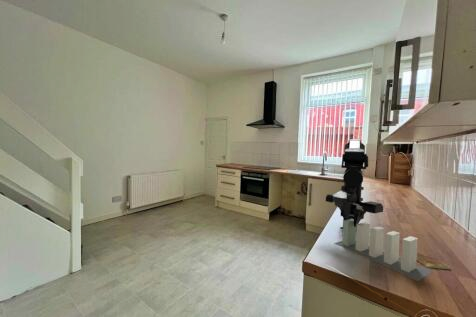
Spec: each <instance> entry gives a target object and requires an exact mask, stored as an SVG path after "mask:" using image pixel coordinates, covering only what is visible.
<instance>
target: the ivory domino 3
mask: <svg viewBox="0 0 476 317" xmlns="http://www.w3.org/2000/svg"><path fill="white" fill-rule="evenodd" d="M400 238H401V234H400V232H397V231H395V230H392V231H388V232H384V249H383V252H384V262H386V263H388V264H390V265H391V264H393V263H395V262H397V261H398V258H400V256H399V254H400Z"/></svg>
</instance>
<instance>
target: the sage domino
mask: <svg viewBox="0 0 476 317" xmlns="http://www.w3.org/2000/svg"><path fill="white" fill-rule="evenodd" d="M342 227H343V229H342V241H343V245H345V246H350V245H353V244H355V241H356V227H354V219H348V220H344V223H343V222H342Z"/></svg>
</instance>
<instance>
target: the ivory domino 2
mask: <svg viewBox="0 0 476 317" xmlns="http://www.w3.org/2000/svg"><path fill="white" fill-rule="evenodd" d="M384 240H385V228H384V227H381V226H375V227H374V226H373V227H370V233H369V256H372V257H374V258H375V257H378V256H380V255H383V252H384Z"/></svg>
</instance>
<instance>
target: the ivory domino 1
mask: <svg viewBox="0 0 476 317" xmlns="http://www.w3.org/2000/svg"><path fill="white" fill-rule="evenodd" d="M370 228H371V224H370V223H369V222H361V223H360V222H359V223H358V224H357V229H356V238H355V241H356V248H355V249H356V250H358V251H360V252H361V251H364V250H367V249H369V242H370Z"/></svg>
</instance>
